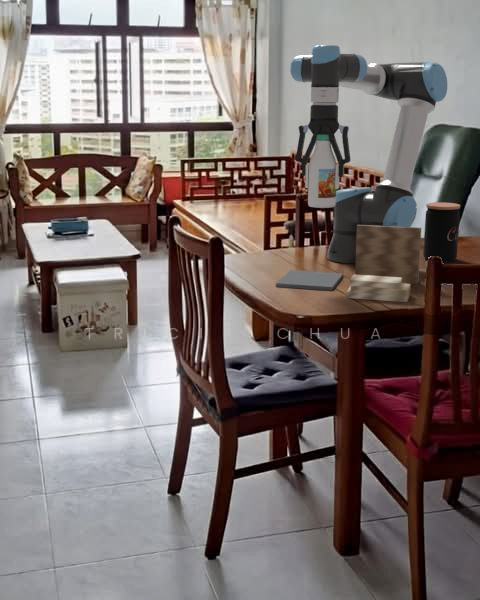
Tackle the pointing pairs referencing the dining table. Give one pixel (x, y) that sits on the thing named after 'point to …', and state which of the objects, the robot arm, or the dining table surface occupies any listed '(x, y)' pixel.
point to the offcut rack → (385, 263)
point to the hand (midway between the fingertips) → (322, 187)
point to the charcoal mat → (310, 280)
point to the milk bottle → (322, 175)
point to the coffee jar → (441, 230)
